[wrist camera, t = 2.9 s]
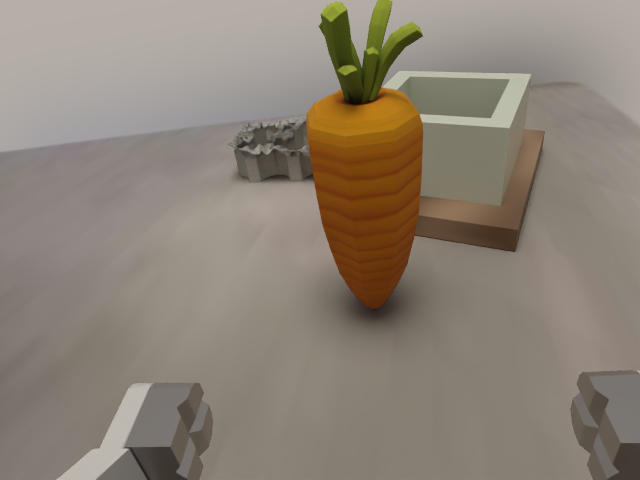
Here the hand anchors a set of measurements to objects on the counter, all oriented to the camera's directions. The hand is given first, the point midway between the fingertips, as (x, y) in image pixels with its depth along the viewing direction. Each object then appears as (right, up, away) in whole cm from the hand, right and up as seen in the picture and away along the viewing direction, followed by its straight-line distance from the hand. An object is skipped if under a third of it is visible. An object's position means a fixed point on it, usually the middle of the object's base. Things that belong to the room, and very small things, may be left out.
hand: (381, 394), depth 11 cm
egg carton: (-3, +10, +31) cm, 32 cm away
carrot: (+2, 0, +15) cm, 15 cm away
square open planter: (+7, +9, +24) cm, 27 cm away
